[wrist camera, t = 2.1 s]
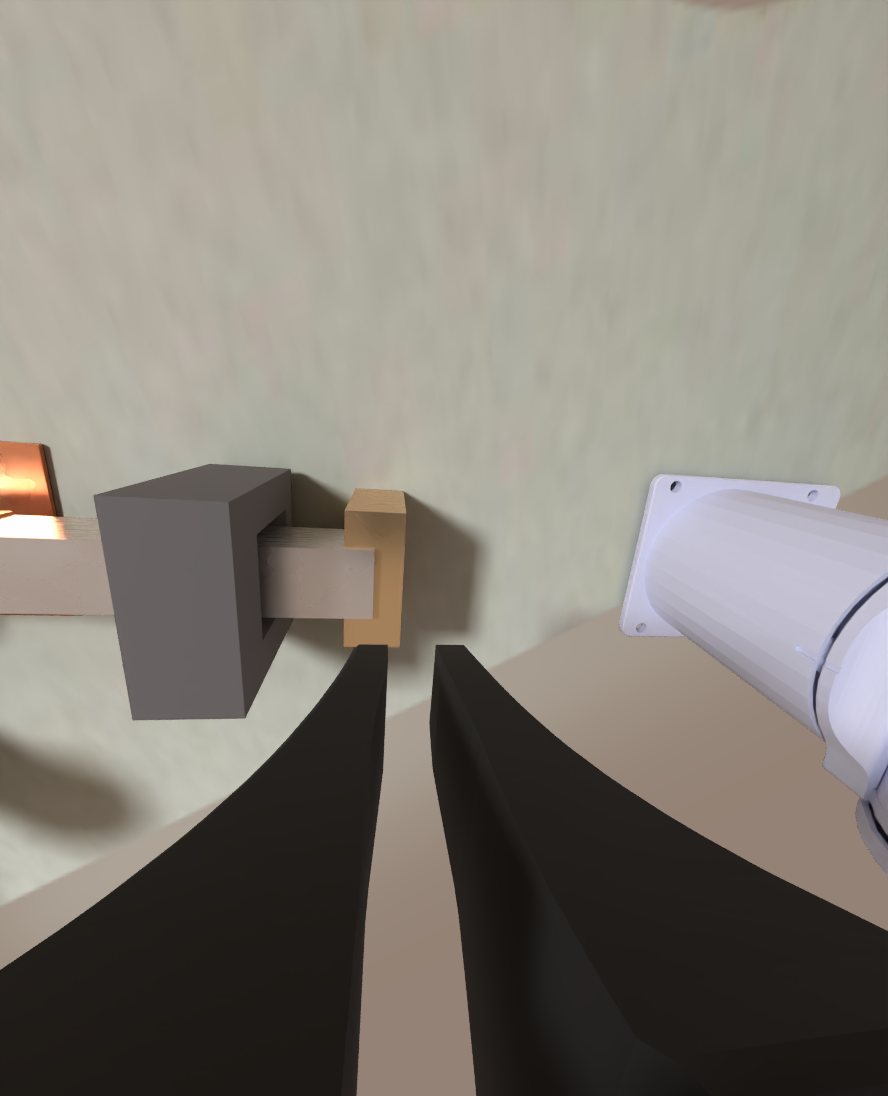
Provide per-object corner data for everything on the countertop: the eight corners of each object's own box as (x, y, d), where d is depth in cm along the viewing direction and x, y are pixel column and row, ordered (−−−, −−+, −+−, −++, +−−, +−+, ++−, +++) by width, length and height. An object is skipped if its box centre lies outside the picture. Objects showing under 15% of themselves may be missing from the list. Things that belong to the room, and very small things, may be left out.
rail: (404, 467, 17) (408, 485, 13) (397, 618, 19) (398, 676, 15) (-234, 426, 14) (-502, 431, 10) (-162, 609, 16) (-359, 679, 12)
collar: (290, 468, 16) (228, 501, 10) (295, 614, 18) (244, 718, 12) (209, 463, 16) (93, 495, 10) (223, 613, 18) (132, 720, 12)
